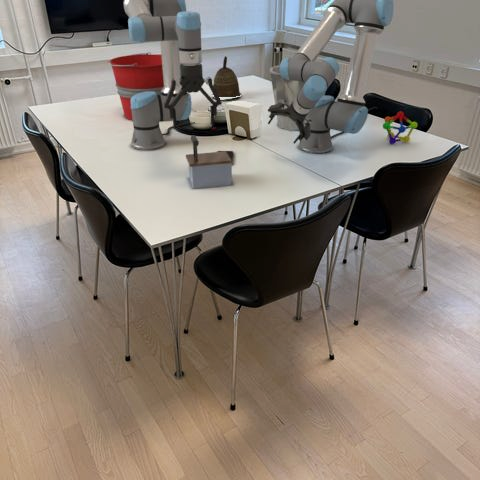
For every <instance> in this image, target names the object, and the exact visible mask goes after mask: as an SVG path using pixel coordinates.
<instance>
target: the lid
mask: <svg viewBox="0 0 480 480" xmlns="http://www.w3.org/2000/svg"><path fill="white" fill-rule="evenodd" d="M190 140H191V143H192V151H193V152H192V153H189V154H185V158H186V162H187V164H188V167H189V166H190V167H193V166H203V165H214V164H225V163H232V164H233V162H232V160H231V159H230V157H229V155H228V154H227V152H226V151H227V150H221V151H222V152H217V151H215V152H214V151H212V152H201V153H200V152H198V146H199V145H200V142H199V140H198V138H197V136H196V135H195V134H193V135H191V136H190Z"/></svg>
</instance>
